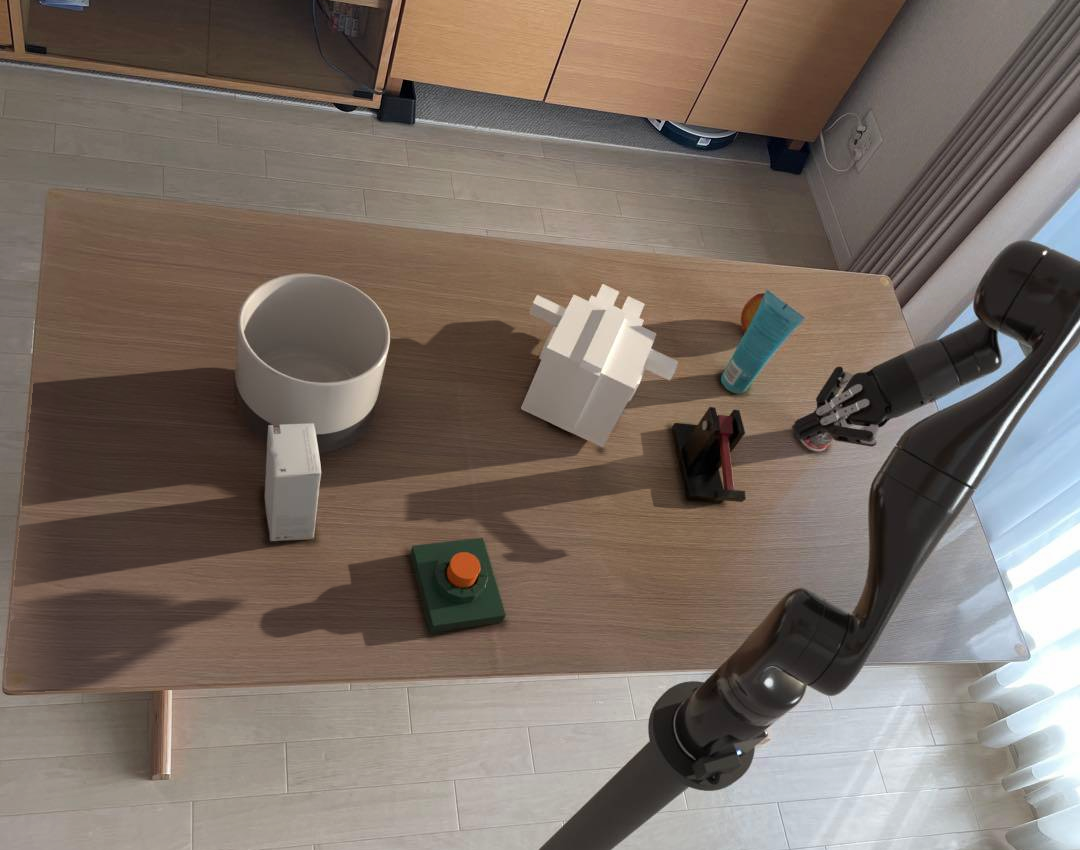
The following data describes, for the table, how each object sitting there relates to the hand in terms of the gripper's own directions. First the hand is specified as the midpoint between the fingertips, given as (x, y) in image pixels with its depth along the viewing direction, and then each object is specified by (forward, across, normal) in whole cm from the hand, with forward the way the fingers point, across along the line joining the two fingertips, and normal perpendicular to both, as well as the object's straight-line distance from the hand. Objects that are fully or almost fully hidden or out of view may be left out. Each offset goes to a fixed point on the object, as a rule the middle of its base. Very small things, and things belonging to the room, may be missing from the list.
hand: (794, 433), depth 140 cm
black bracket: (+17, -9, +12) cm, 22 cm away
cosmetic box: (+62, -2, -33) cm, 70 cm away
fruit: (+2, -37, +27) cm, 46 cm away
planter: (+59, -20, -30) cm, 70 cm away
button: (+45, +10, -21) cm, 50 cm away
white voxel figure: (+27, -27, +2) cm, 38 cm away
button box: (+47, +10, -18) cm, 52 cm away
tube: (+8, -26, +21) cm, 34 cm away
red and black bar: (+12, -4, +6) cm, 14 cm away
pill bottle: (0, -14, +29) cm, 32 cm away
